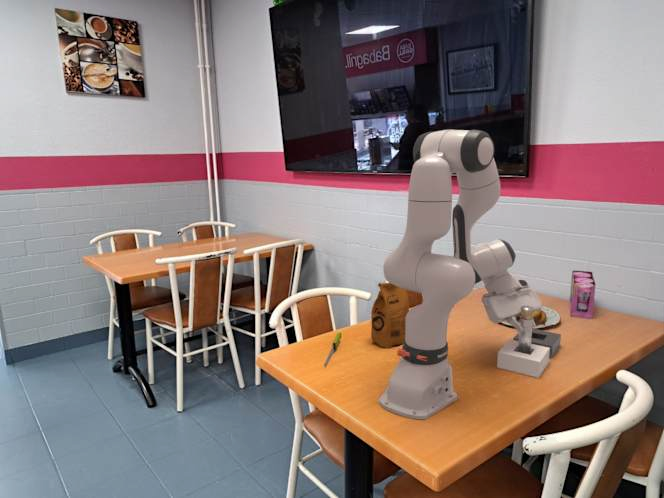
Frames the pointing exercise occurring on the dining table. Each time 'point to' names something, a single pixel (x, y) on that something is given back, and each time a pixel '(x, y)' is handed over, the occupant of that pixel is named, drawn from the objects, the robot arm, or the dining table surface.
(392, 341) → the coffee package
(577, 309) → the gum box
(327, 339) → the dining table surface
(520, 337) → the shiny cylindrical peg
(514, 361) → the rack block
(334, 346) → the kitchen knife
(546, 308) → the food on plate
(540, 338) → the socket block
